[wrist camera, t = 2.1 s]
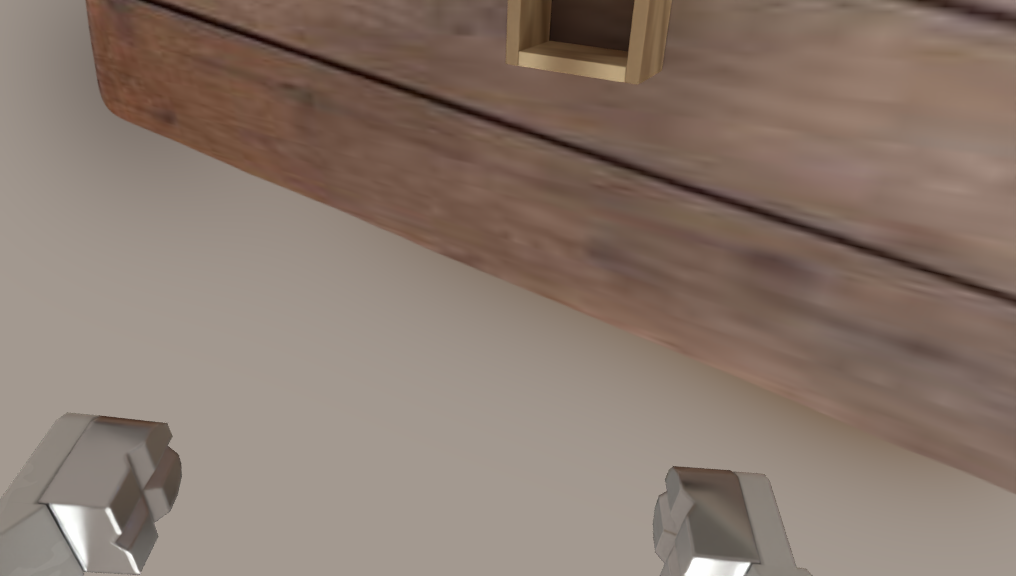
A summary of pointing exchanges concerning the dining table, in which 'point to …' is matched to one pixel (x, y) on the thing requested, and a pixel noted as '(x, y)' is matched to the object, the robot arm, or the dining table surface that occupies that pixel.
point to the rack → (632, 66)
